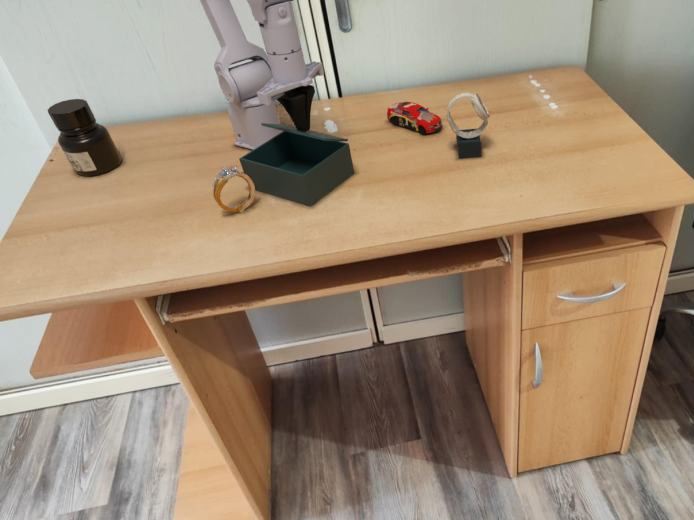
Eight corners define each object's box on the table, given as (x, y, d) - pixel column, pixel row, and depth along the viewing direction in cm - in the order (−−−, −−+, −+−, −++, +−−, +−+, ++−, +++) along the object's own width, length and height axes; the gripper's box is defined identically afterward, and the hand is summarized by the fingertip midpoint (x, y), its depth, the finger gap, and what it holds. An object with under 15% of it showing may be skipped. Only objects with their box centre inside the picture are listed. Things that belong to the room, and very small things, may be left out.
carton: (294, 157, 114) (286, 128, 110) (354, 173, 109) (348, 143, 105) (249, 188, 107) (238, 158, 103) (311, 206, 101) (302, 176, 97)
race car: (447, 128, 120) (446, 109, 117) (430, 138, 118) (428, 119, 115) (402, 112, 127) (400, 94, 124) (384, 121, 124) (381, 103, 121)
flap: (285, 126, 110) (286, 124, 110) (347, 141, 104) (347, 139, 104) (261, 125, 104) (261, 123, 104) (324, 140, 99) (325, 138, 99)
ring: (256, 199, 104) (242, 158, 98) (263, 207, 102) (249, 165, 96) (218, 214, 101) (202, 172, 95) (225, 221, 99) (209, 179, 93)
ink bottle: (67, 167, 116) (33, 107, 107) (110, 150, 120) (80, 92, 112) (87, 182, 111) (52, 121, 103) (131, 164, 115) (101, 104, 107)
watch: (491, 156, 111) (491, 98, 103) (449, 159, 111) (446, 102, 103) (488, 142, 115) (487, 86, 107) (447, 145, 115) (444, 89, 107)
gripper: (271, 68, 88) (294, 151, 98) (330, 37, 97) (345, 117, 107) (238, 61, 91) (263, 143, 101) (298, 32, 100) (316, 110, 109)
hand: (303, 129), depth 104 cm, fingers closed
